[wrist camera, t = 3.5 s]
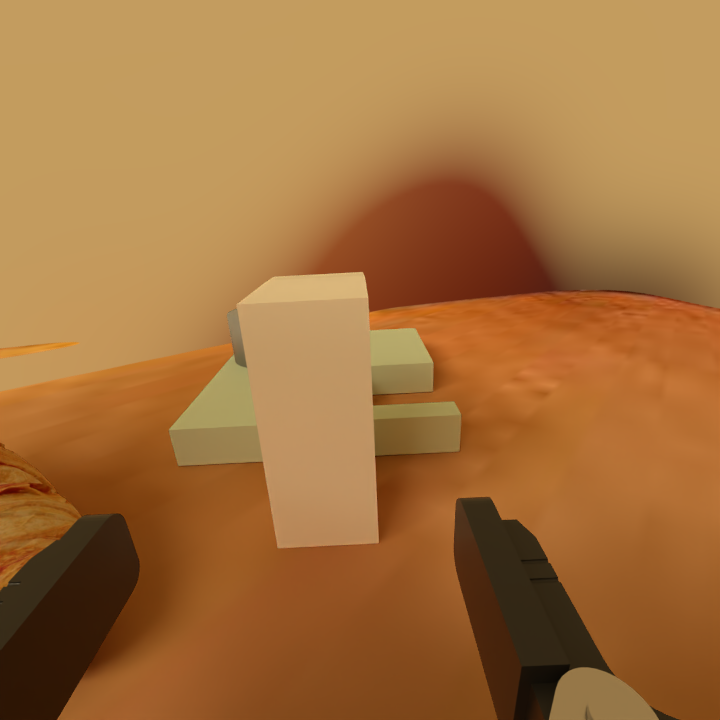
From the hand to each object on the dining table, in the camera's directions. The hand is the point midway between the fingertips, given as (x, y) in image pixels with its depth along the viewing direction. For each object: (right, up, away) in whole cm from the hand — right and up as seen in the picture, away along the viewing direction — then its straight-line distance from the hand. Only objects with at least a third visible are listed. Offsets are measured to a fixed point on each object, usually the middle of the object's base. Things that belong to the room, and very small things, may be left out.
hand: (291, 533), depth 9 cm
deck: (-1, +1, +22) cm, 22 cm away
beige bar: (0, -3, +10) cm, 10 cm away
